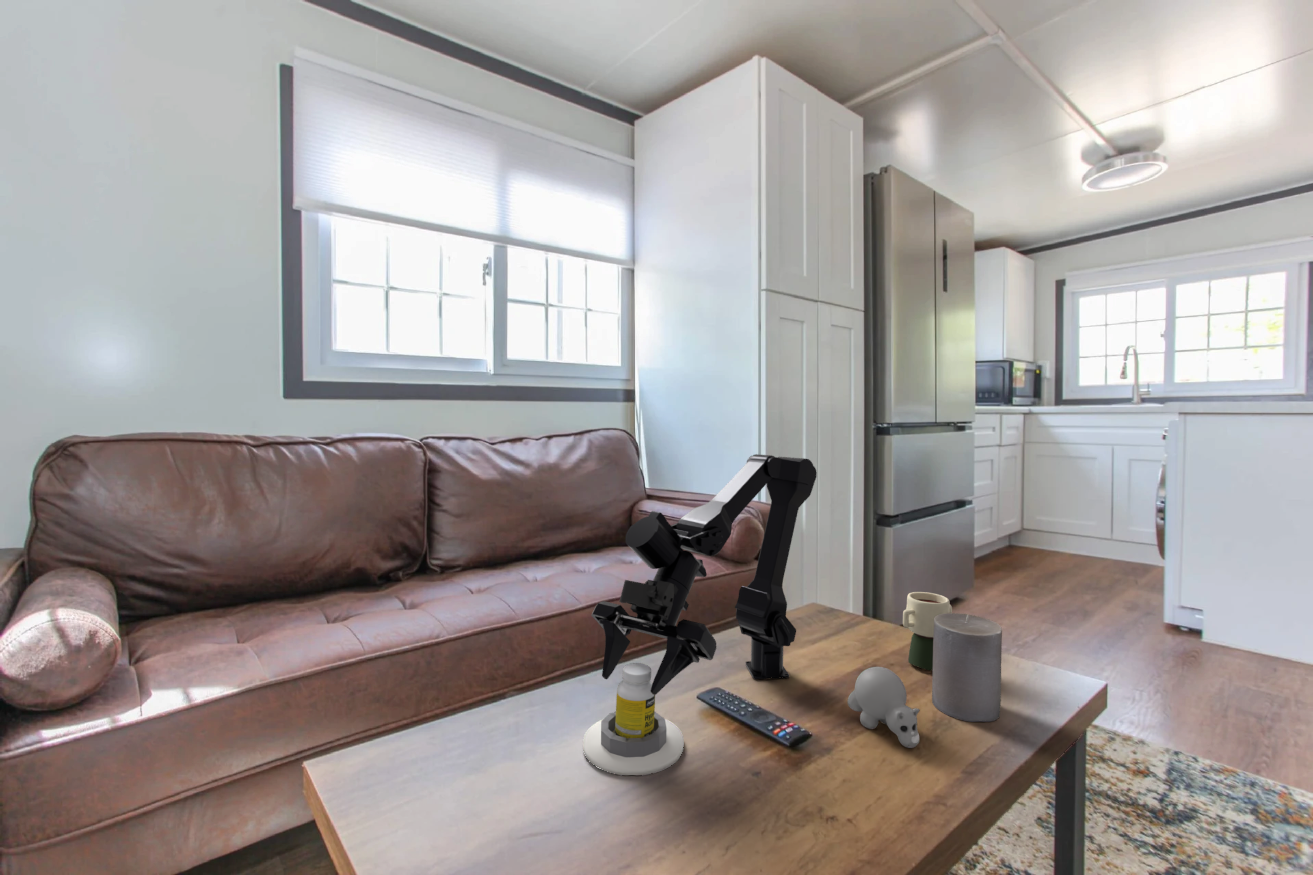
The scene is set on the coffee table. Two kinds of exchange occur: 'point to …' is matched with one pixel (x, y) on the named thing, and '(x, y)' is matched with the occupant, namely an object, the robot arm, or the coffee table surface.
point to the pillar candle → (967, 667)
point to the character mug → (923, 625)
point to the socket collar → (633, 747)
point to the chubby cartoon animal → (885, 704)
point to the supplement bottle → (635, 702)
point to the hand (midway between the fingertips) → (627, 685)
